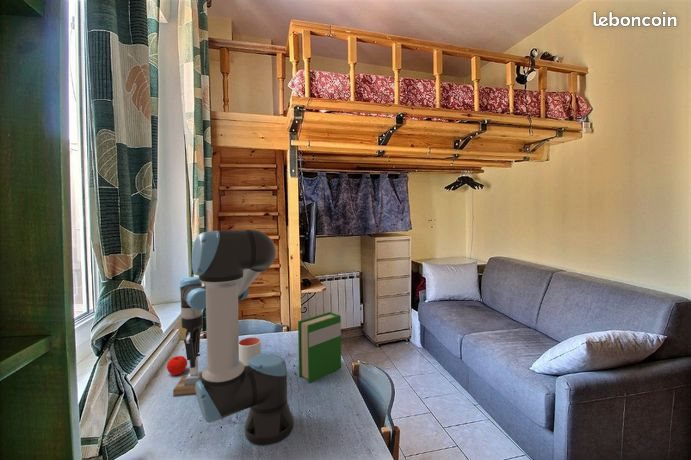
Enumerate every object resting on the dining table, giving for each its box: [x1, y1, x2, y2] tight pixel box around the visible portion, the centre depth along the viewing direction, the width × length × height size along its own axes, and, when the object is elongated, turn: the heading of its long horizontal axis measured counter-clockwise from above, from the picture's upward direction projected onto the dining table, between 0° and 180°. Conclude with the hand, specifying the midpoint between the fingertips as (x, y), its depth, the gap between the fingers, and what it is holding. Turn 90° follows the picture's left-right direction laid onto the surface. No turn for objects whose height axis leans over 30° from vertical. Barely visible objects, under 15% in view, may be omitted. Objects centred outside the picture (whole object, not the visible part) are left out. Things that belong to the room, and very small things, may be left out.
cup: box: [239, 337, 262, 367], centre depth 146 cm, size 10×10×10 cm
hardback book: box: [297, 311, 342, 384], centre depth 136 cm, size 18×7×24 cm, turn 133°
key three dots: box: [185, 370, 203, 386], centre depth 125 cm, size 5×5×4 cm
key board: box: [172, 374, 196, 397], centre depth 127 cm, size 11×28×2 cm, turn 99°
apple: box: [166, 355, 188, 376], centre depth 137 cm, size 8×8×7 cm
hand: (194, 373), depth 125 cm, fingers closed
